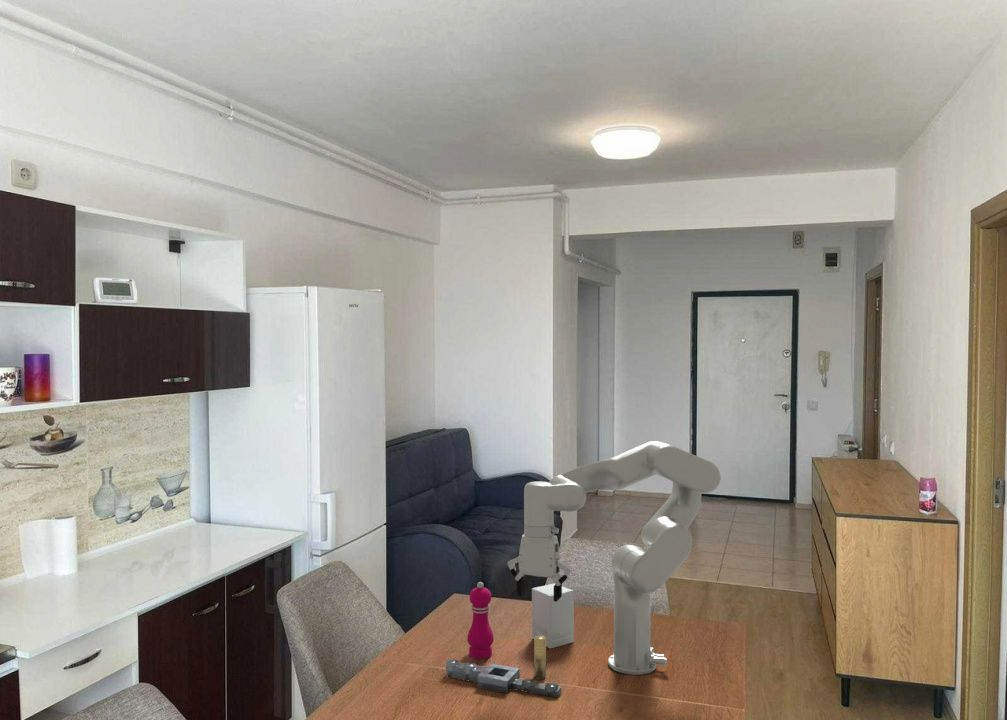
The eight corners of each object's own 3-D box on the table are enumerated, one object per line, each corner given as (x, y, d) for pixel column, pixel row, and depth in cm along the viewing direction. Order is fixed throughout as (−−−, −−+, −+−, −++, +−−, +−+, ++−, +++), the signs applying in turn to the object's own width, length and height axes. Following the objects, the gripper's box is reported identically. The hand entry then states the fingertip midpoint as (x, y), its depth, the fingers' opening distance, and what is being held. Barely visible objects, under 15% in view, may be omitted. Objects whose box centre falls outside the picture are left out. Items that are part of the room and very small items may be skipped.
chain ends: (564, 688, 191) (564, 674, 191) (553, 702, 184) (553, 687, 184) (453, 668, 203) (453, 655, 203) (439, 680, 196) (439, 666, 196)
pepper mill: (497, 651, 215) (497, 579, 214) (488, 661, 208) (488, 587, 207) (473, 647, 217) (472, 576, 217) (463, 657, 210) (463, 584, 210)
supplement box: (575, 642, 221) (575, 590, 221) (550, 649, 216) (550, 596, 216) (555, 632, 228) (555, 582, 228) (530, 639, 223) (530, 587, 223)
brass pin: (547, 675, 199) (547, 636, 199) (543, 680, 196) (543, 640, 196) (536, 673, 200) (536, 635, 200) (532, 678, 197) (532, 639, 197)
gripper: (575, 530, 198) (576, 597, 198) (513, 524, 205) (513, 589, 205) (566, 537, 191) (566, 606, 191) (502, 530, 198) (502, 597, 198)
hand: (539, 597), depth 198 cm, fingers open, 9 cm apart
